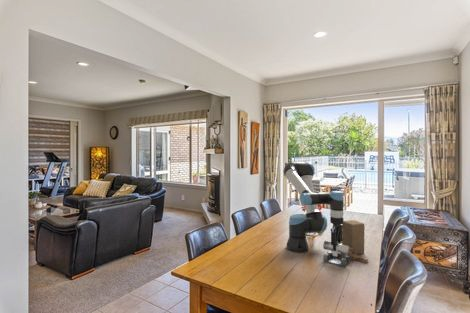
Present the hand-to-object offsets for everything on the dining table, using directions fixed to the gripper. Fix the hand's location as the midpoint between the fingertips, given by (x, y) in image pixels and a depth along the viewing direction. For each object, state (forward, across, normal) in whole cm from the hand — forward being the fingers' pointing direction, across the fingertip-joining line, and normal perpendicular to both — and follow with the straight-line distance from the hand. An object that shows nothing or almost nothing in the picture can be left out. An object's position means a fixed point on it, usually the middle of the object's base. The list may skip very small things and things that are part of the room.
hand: (336, 254), depth 162 cm
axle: (-2, 0, 0) cm, 2 cm away
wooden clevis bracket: (+5, +12, -4) cm, 14 cm away
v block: (+5, 0, 0) cm, 5 cm away
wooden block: (+5, +25, -2) cm, 26 cm away
